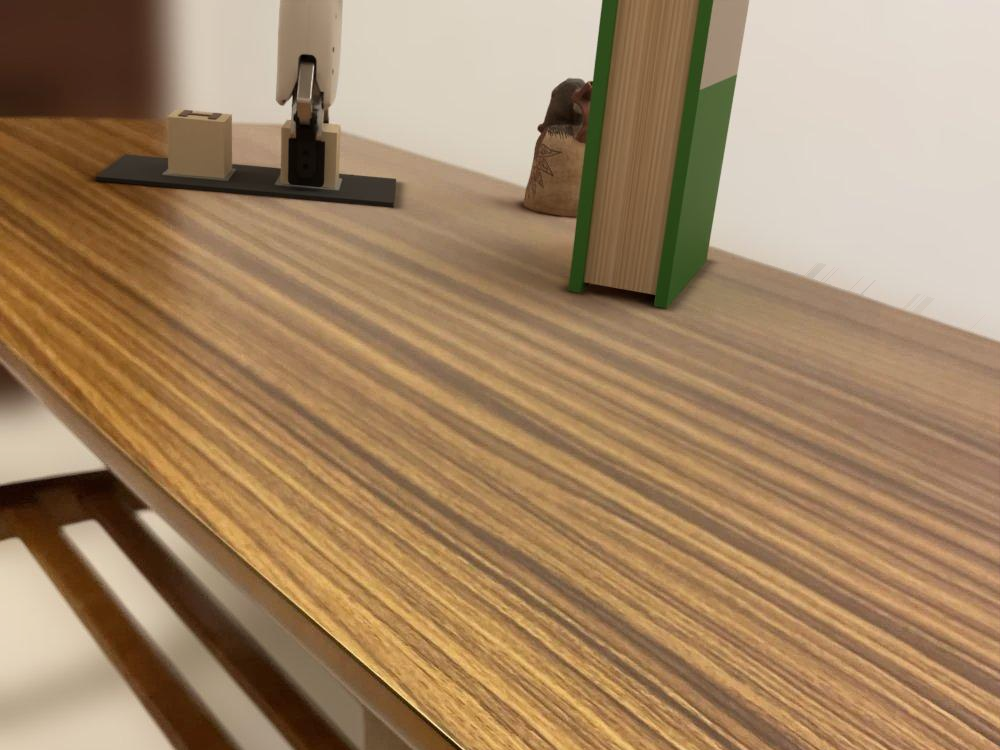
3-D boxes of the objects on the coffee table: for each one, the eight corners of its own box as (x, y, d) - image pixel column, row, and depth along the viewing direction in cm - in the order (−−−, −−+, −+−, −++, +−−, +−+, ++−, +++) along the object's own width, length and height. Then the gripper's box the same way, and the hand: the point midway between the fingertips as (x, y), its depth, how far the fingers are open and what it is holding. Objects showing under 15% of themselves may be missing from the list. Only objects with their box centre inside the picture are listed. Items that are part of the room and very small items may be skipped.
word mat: (95, 180, 108) (95, 175, 108) (125, 158, 119) (125, 153, 119) (393, 207, 111) (393, 201, 111) (395, 182, 122) (396, 177, 122)
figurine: (572, 200, 123) (587, 73, 118) (612, 216, 118) (629, 84, 113) (511, 201, 119) (523, 70, 114) (550, 218, 114) (564, 81, 109)
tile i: (280, 183, 113) (281, 126, 111) (285, 174, 118) (286, 118, 115) (335, 188, 114) (337, 131, 111) (338, 178, 118) (340, 123, 116)
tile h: (168, 173, 112) (166, 115, 110) (178, 164, 116) (176, 107, 114) (224, 178, 112) (224, 120, 110) (232, 169, 117) (231, 113, 115)
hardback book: (666, 308, 89) (722, -59, 79) (568, 290, 91) (610, -71, 80) (706, 261, 105) (757, -51, 94) (622, 246, 106) (663, -62, 96)
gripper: (280, -39, 115) (278, 158, 123) (258, -33, 99) (257, 192, 107) (361, -30, 116) (354, 165, 124) (352, -23, 100) (344, 199, 108)
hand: (309, 176), depth 115 cm, fingers open, 6 cm apart
